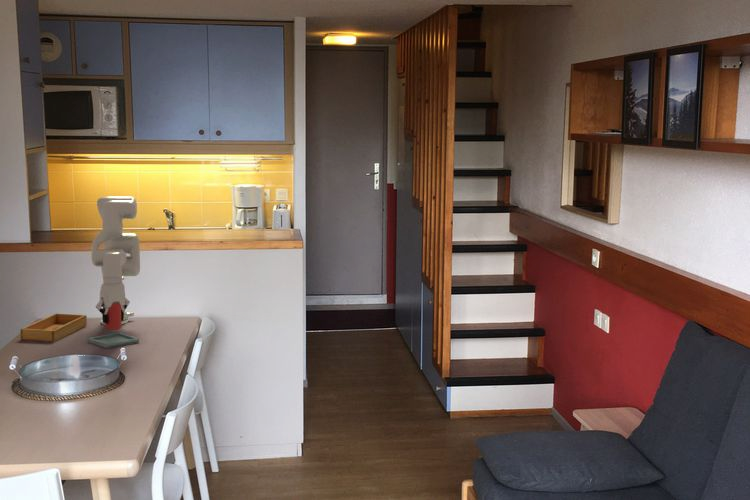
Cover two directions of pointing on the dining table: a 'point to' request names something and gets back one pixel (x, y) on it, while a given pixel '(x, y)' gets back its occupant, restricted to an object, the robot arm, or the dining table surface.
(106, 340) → the slate tray
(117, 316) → the beer can
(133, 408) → the dining table surface
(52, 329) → the tray
